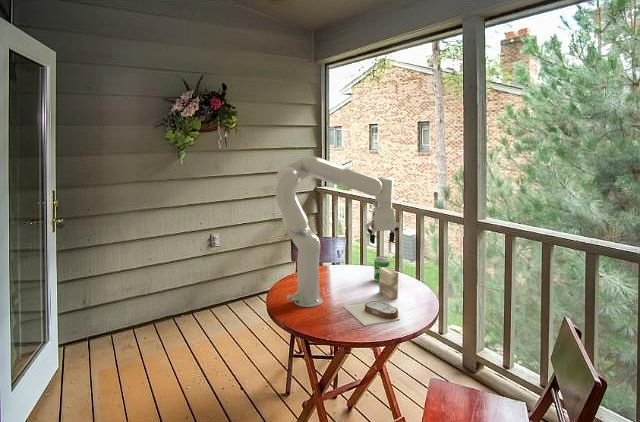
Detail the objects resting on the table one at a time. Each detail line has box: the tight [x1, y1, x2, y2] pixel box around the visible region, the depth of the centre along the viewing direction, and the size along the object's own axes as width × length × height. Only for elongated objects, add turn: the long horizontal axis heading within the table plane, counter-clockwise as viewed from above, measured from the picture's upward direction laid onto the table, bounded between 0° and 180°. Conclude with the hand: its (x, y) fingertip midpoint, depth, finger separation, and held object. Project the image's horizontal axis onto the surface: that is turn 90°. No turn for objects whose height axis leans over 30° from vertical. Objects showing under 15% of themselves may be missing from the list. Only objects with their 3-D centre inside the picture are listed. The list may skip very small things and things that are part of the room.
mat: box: [343, 301, 401, 327], centre depth 180 cm, size 16×20×1 cm
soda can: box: [373, 255, 390, 283], centre depth 220 cm, size 8×8×12 cm
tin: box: [365, 300, 399, 319], centre depth 179 cm, size 15×3×8 cm
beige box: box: [378, 266, 399, 301], centre depth 200 cm, size 4×10×12 cm, turn 20°
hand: (382, 242), depth 198 cm, fingers open, 9 cm apart
